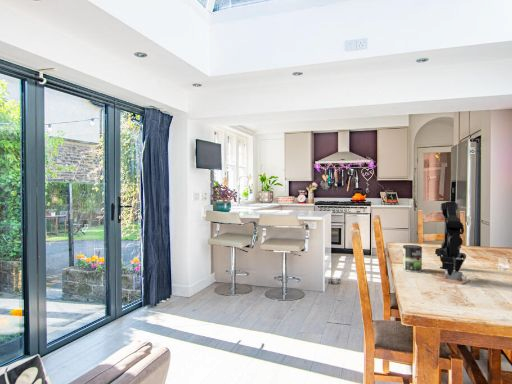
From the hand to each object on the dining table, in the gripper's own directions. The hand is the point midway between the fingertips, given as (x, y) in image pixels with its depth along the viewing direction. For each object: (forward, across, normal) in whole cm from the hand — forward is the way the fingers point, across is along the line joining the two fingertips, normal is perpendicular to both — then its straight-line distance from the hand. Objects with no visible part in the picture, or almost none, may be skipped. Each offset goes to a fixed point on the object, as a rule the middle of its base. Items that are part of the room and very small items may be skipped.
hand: (453, 274), depth 191 cm
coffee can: (+4, -7, -25) cm, 26 cm away
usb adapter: (+3, 0, 0) cm, 3 cm away
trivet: (+3, 0, 0) cm, 3 cm away
